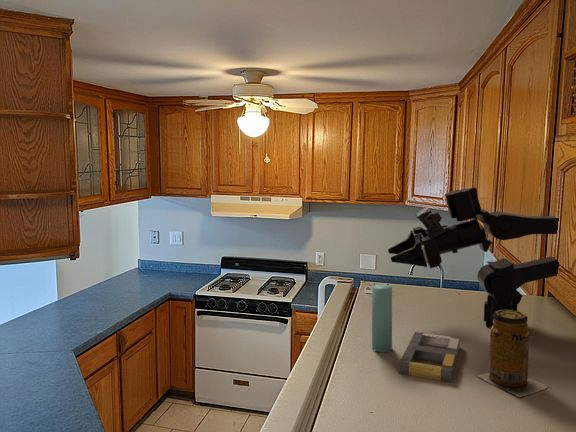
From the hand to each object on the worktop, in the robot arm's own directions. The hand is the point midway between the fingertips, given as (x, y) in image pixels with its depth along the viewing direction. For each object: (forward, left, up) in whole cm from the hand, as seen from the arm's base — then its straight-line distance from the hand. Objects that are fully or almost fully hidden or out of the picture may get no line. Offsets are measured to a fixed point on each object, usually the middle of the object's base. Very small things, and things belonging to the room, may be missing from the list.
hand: (389, 255), depth 108 cm
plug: (-2, +16, -16) cm, 23 cm away
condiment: (-26, +22, -16) cm, 38 cm away
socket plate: (-12, +18, -16) cm, 27 cm away
